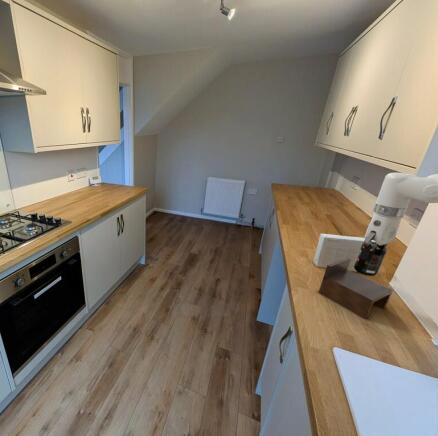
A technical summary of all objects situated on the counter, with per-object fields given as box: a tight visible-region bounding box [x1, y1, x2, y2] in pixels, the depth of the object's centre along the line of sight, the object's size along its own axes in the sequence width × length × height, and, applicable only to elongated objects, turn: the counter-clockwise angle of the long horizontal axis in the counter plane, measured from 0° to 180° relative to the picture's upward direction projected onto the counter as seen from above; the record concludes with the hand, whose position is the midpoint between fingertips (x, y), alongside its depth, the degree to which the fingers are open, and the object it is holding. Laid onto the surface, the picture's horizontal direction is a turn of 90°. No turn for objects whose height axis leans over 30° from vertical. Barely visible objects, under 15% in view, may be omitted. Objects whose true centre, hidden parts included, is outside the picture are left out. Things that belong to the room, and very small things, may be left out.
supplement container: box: [354, 243, 388, 277], centre depth 86 cm, size 7×7×10 cm
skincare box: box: [312, 233, 375, 273], centre depth 112 cm, size 21×6×16 cm, turn 74°
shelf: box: [318, 258, 394, 320], centre depth 91 cm, size 16×14×13 cm
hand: (370, 257), depth 85 cm, fingers closed on supplement container, 6 cm apart
